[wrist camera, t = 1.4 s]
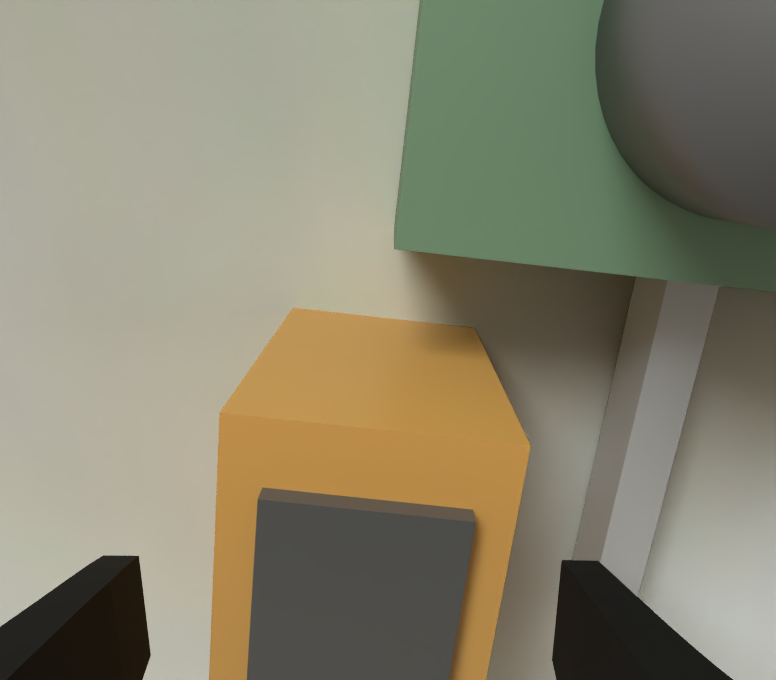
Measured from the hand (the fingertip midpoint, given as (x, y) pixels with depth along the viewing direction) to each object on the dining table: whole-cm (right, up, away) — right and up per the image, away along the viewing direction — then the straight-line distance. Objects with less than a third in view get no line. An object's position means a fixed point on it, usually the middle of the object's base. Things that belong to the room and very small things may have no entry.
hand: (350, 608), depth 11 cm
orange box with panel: (0, +1, +4) cm, 4 cm away
